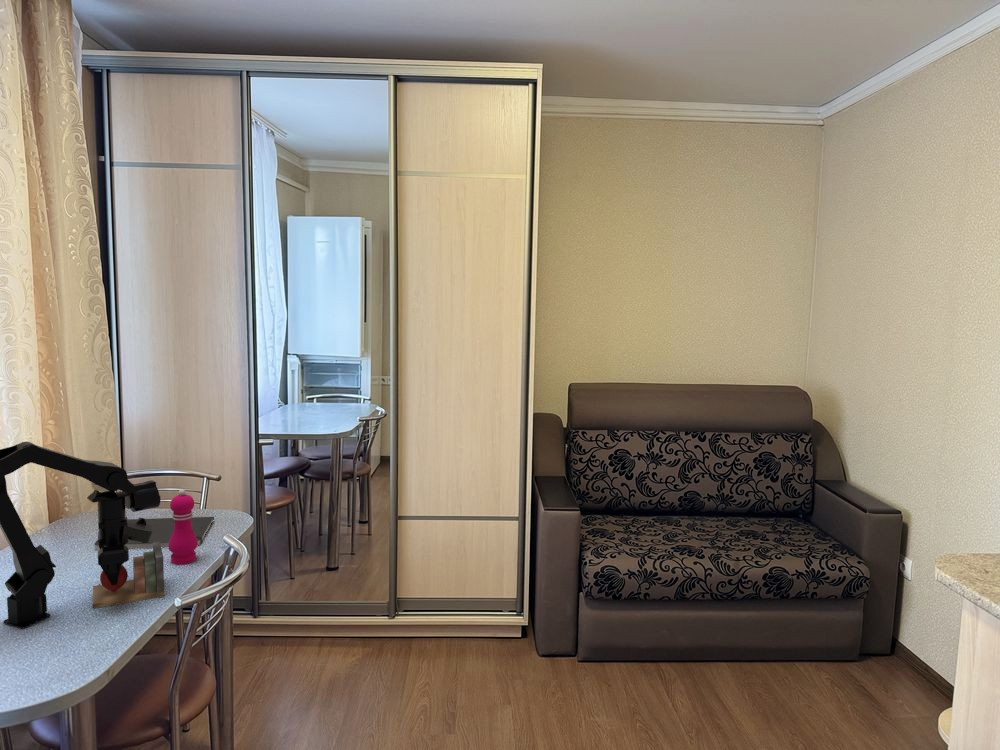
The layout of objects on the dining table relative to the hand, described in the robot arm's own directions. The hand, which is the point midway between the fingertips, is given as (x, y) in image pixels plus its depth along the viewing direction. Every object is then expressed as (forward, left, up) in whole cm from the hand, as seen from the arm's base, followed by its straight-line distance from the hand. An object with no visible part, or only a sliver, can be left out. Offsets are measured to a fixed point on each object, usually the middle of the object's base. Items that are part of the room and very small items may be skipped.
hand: (114, 578), depth 167 cm
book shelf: (+2, -2, -4) cm, 5 cm away
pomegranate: (0, 0, -4) cm, 4 cm away
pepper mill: (+23, +2, -4) cm, 24 cm away
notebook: (+34, +23, -5) cm, 42 cm away
